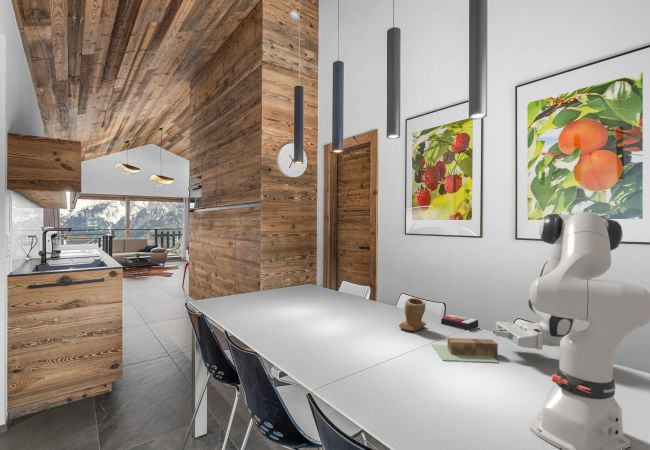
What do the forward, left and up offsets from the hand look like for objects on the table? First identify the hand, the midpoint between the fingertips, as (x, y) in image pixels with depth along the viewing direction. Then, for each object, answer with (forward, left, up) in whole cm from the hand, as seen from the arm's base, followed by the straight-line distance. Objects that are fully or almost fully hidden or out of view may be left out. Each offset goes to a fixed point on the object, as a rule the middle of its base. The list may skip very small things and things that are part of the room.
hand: (494, 332), depth 133 cm
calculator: (+22, +32, -10) cm, 40 cm away
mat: (-10, +7, -9) cm, 15 cm away
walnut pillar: (0, 0, -6) cm, 6 cm away
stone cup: (-4, +39, -9) cm, 41 cm away
